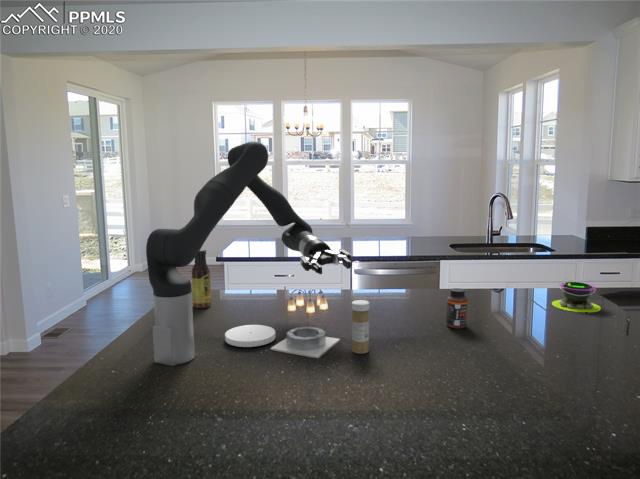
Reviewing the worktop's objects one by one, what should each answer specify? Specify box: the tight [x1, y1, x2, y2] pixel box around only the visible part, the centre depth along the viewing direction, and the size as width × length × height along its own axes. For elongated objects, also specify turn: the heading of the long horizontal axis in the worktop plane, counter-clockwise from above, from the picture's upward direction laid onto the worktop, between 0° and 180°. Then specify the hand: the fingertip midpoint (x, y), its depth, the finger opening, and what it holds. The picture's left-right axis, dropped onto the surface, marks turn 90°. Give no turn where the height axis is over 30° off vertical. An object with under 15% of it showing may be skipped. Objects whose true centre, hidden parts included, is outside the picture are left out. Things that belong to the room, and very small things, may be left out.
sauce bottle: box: [191, 248, 212, 309], centre depth 171 cm, size 7×6×20 cm
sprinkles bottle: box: [351, 299, 370, 355], centre depth 130 cm, size 5×5×13 cm
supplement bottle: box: [445, 288, 468, 330], centre depth 149 cm, size 6×6×11 cm
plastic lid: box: [224, 324, 277, 348], centre depth 139 cm, size 14×14×2 cm
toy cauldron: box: [551, 277, 602, 313], centre depth 169 cm, size 15×15×11 cm
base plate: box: [270, 336, 341, 359], centre depth 135 cm, size 14×14×1 cm
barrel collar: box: [286, 325, 327, 351], centre depth 135 cm, size 10×10×3 cm
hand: (335, 268), depth 139 cm, fingers open, 8 cm apart
